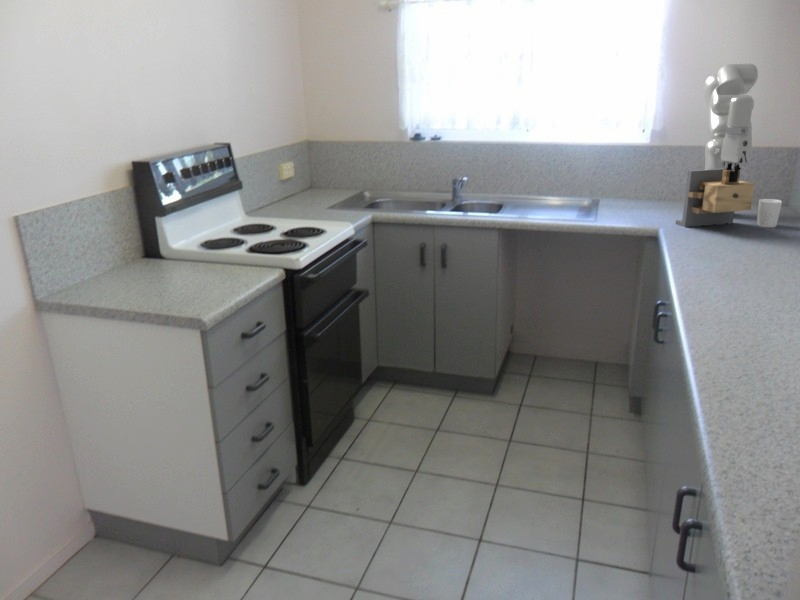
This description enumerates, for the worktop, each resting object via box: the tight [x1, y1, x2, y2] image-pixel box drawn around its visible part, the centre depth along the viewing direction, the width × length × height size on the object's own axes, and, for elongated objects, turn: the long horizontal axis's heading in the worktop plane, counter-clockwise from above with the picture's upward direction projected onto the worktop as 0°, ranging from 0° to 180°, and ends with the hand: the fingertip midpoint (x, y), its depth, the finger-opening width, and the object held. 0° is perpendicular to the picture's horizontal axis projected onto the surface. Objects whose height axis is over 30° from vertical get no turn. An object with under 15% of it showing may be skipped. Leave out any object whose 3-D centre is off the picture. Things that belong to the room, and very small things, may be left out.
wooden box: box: [699, 170, 755, 213], centre depth 252 cm, size 12×16×15 cm
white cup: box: [756, 198, 783, 228], centre depth 259 cm, size 8×8×10 cm
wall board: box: [675, 168, 742, 228], centre depth 261 cm, size 10×22×22 cm, turn 103°
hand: (730, 180), depth 250 cm, fingers closed on wooden box
